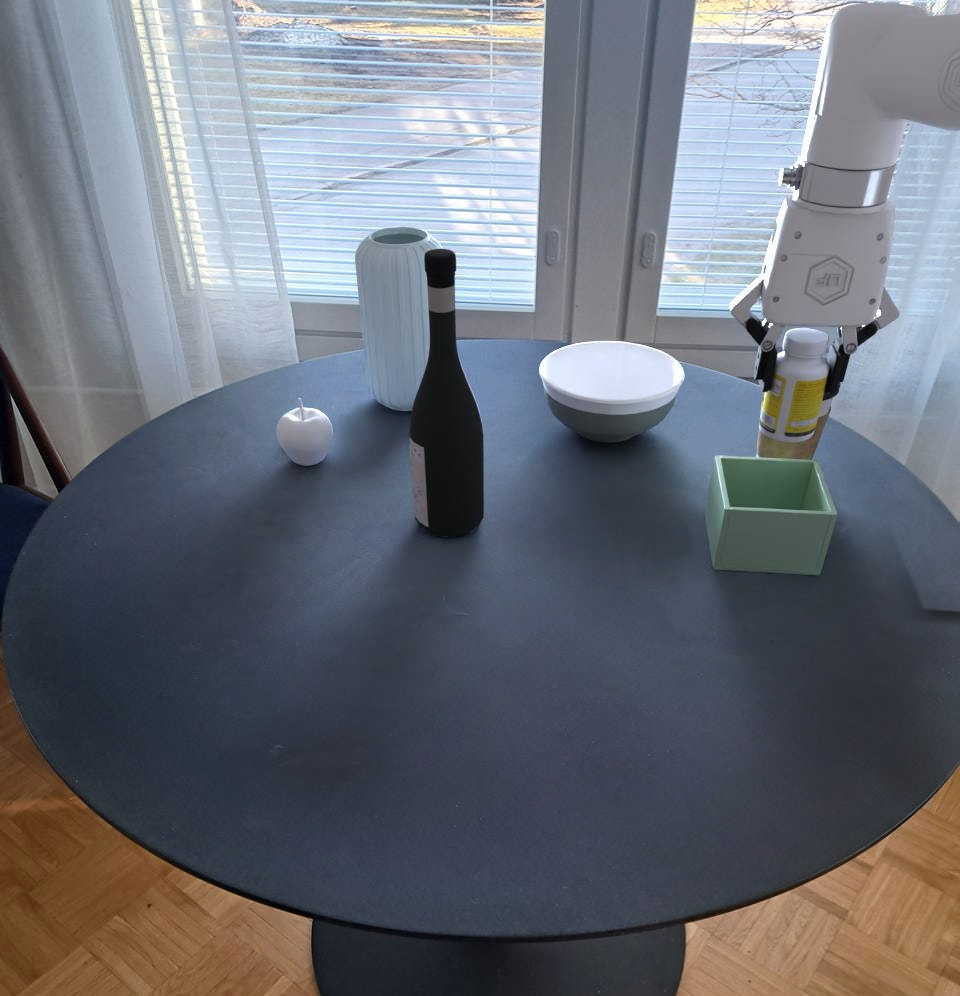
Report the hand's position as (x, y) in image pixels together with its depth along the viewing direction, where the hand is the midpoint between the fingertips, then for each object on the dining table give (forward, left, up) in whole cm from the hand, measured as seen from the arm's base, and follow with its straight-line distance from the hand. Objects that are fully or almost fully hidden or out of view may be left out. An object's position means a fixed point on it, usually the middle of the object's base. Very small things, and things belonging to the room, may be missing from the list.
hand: (796, 385), depth 87 cm
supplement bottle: (0, 0, -5) cm, 5 cm away
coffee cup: (-4, -15, -19) cm, 25 cm away
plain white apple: (+55, -15, -19) cm, 60 cm away
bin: (0, -1, -19) cm, 19 cm away
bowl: (+17, -27, -19) cm, 37 cm away
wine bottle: (+35, -2, -19) cm, 40 cm away
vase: (+45, -33, -19) cm, 59 cm away
